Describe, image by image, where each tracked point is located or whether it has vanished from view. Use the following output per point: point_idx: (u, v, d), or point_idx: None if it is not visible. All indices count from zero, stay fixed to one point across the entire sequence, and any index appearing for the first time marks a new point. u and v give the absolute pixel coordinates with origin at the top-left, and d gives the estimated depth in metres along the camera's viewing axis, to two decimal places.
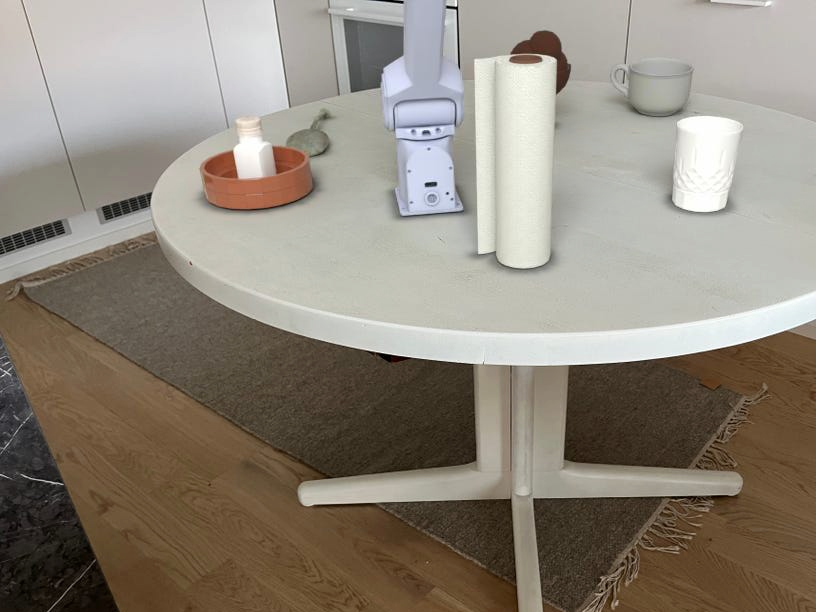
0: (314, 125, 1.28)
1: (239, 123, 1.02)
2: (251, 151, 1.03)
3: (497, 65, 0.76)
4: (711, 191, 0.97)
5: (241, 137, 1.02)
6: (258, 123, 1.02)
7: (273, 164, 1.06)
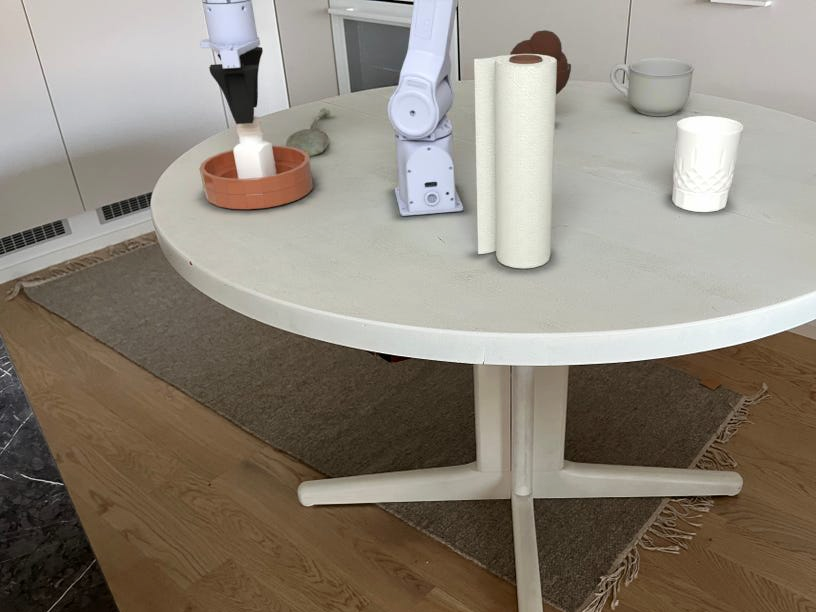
0: (314, 125, 1.28)
1: None
2: (251, 151, 1.03)
3: (497, 65, 0.76)
4: (711, 191, 0.97)
5: (241, 137, 1.02)
6: (258, 123, 1.02)
7: (273, 164, 1.06)
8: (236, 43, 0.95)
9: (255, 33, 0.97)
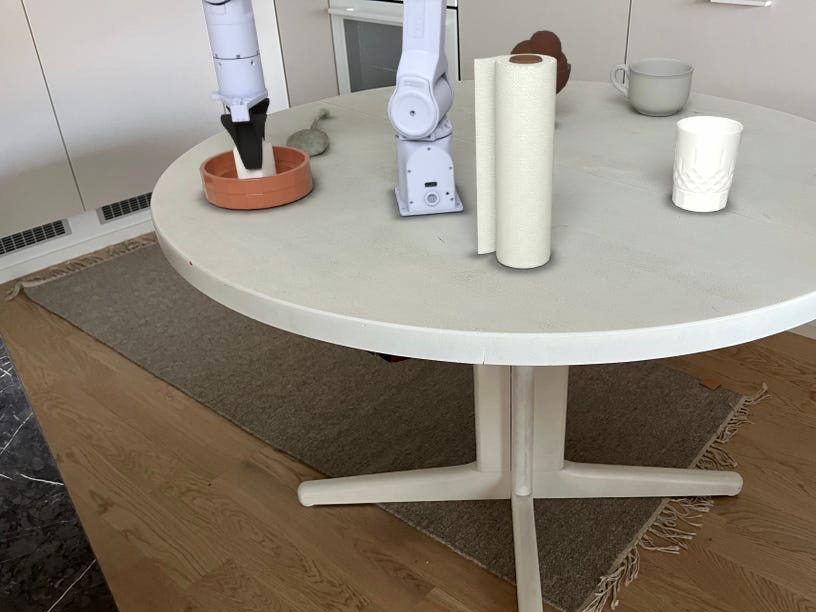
0: (314, 125, 1.28)
1: None
2: None
3: (497, 65, 0.76)
4: (711, 191, 0.97)
5: None
6: None
7: (273, 164, 1.06)
8: (245, 96, 0.98)
9: (263, 85, 1.00)
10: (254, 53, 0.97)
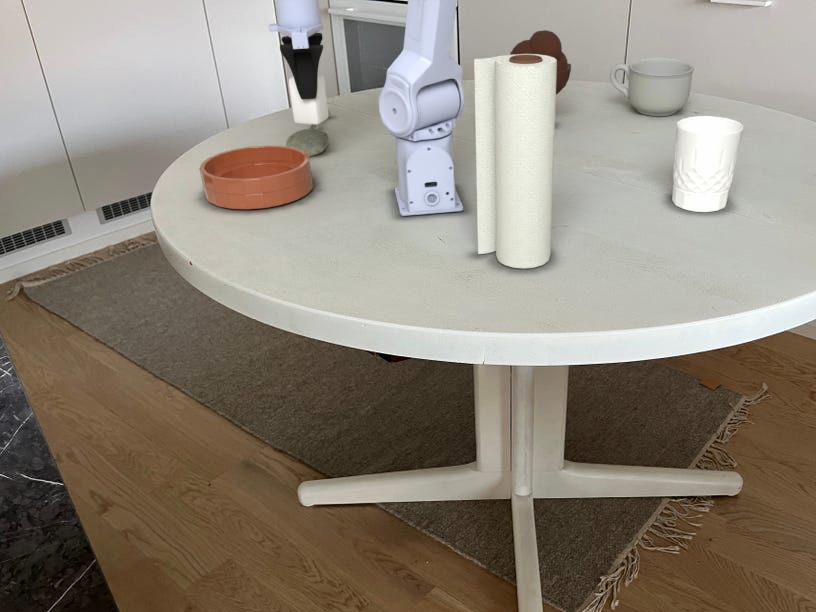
0: (314, 125, 1.28)
1: None
2: None
3: (497, 65, 0.76)
4: (711, 191, 0.97)
5: None
6: None
7: (325, 96, 1.12)
8: (303, 26, 1.04)
9: (319, 18, 1.06)
10: None
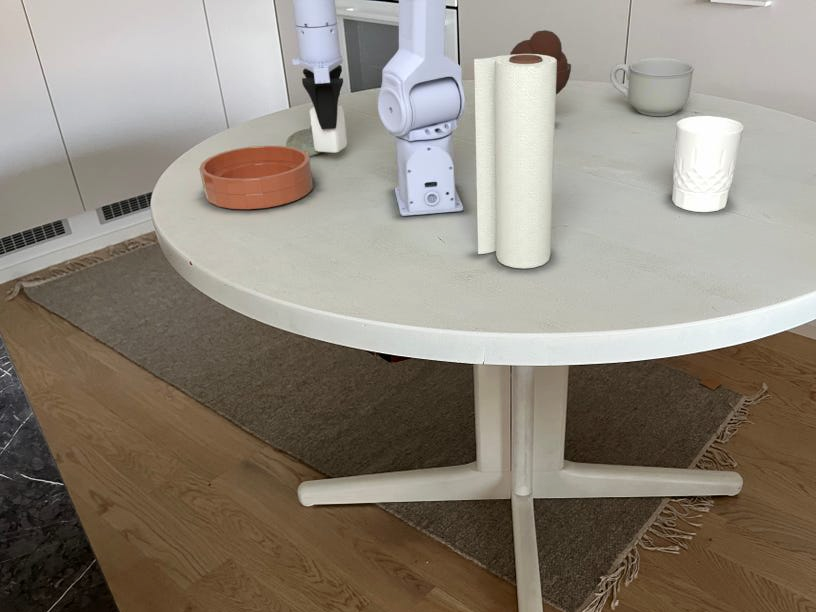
0: None
1: None
2: None
3: (497, 65, 0.76)
4: (711, 191, 0.97)
5: None
6: None
7: (344, 125, 1.17)
8: (324, 61, 1.09)
9: (339, 52, 1.11)
10: (322, 24, 1.07)
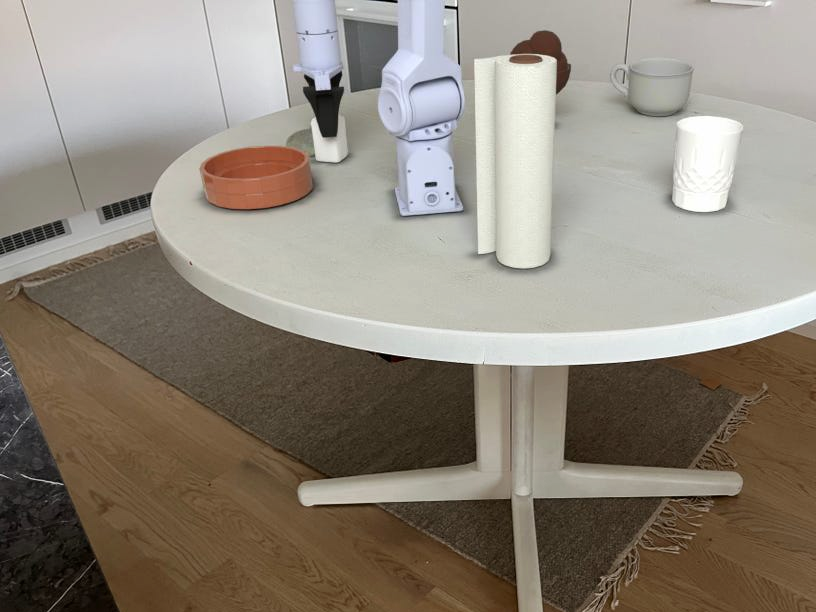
0: None
1: None
2: None
3: (497, 65, 0.76)
4: (711, 191, 0.97)
5: None
6: None
7: (345, 136, 1.18)
8: (325, 68, 1.10)
9: (340, 59, 1.11)
10: (323, 31, 1.07)
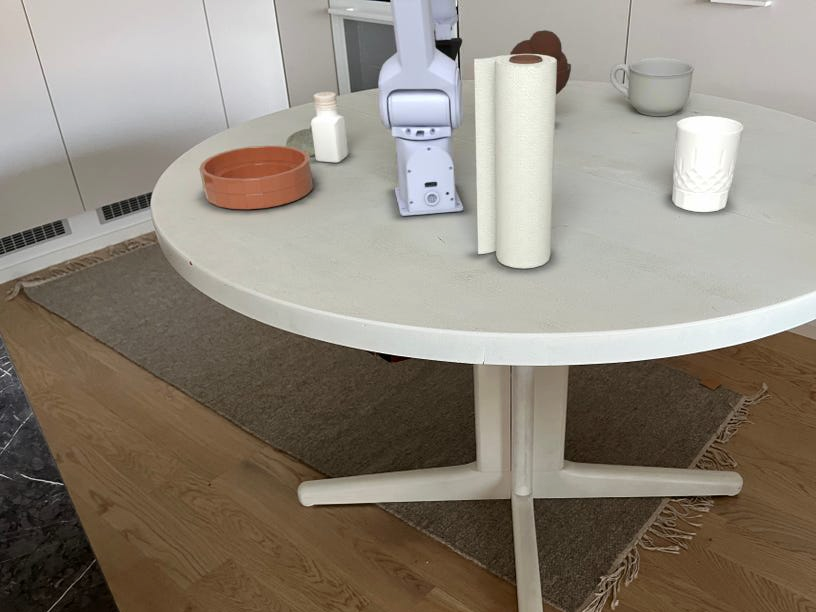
0: None
1: (317, 97, 1.13)
2: (328, 123, 1.14)
3: (497, 65, 0.76)
4: (711, 191, 0.97)
5: (319, 110, 1.14)
6: (334, 98, 1.14)
7: (345, 136, 1.18)
8: (442, 18, 1.07)
9: (455, 10, 1.09)
10: None
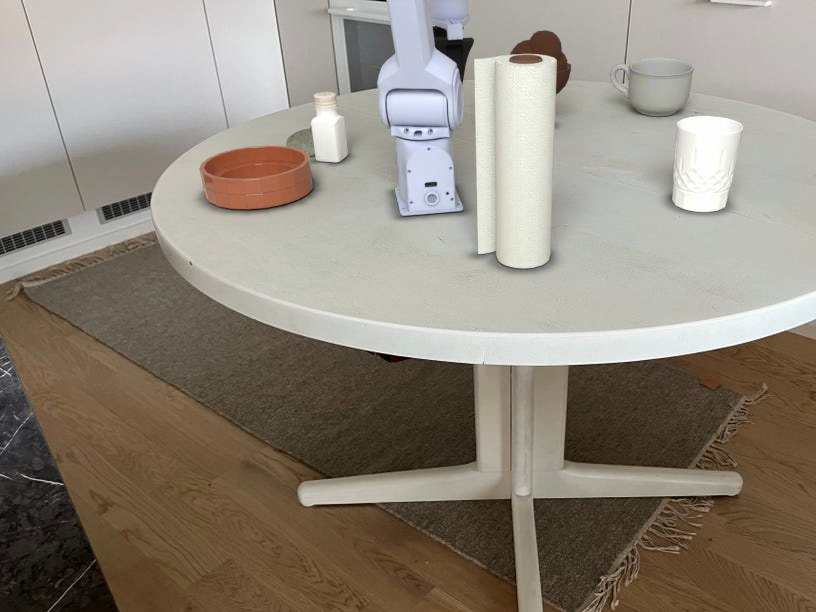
0: None
1: (317, 97, 1.13)
2: (328, 123, 1.14)
3: (497, 65, 0.76)
4: (711, 191, 0.97)
5: (319, 110, 1.14)
6: (334, 98, 1.14)
7: (345, 136, 1.18)
8: (454, 18, 1.07)
9: (467, 10, 1.09)
10: None
